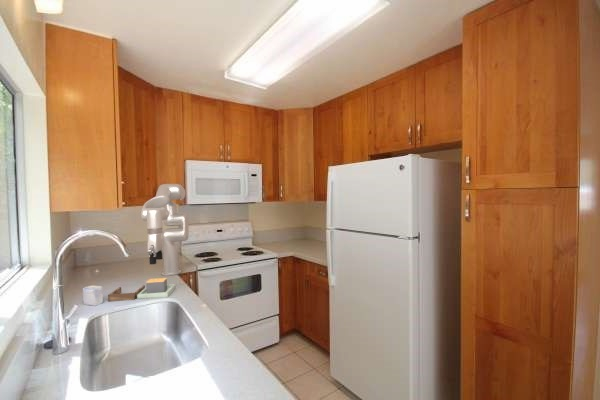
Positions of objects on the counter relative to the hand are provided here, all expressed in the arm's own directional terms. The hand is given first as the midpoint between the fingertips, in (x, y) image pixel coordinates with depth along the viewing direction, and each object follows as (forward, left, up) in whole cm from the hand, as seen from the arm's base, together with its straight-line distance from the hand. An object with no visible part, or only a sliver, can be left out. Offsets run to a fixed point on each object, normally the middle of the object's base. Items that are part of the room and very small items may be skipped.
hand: (156, 261), depth 152 cm
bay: (+1, -15, -18) cm, 23 cm away
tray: (0, 0, -18) cm, 18 cm away
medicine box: (+8, -28, -18) cm, 34 cm away
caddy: (0, 0, -17) cm, 17 cm away
